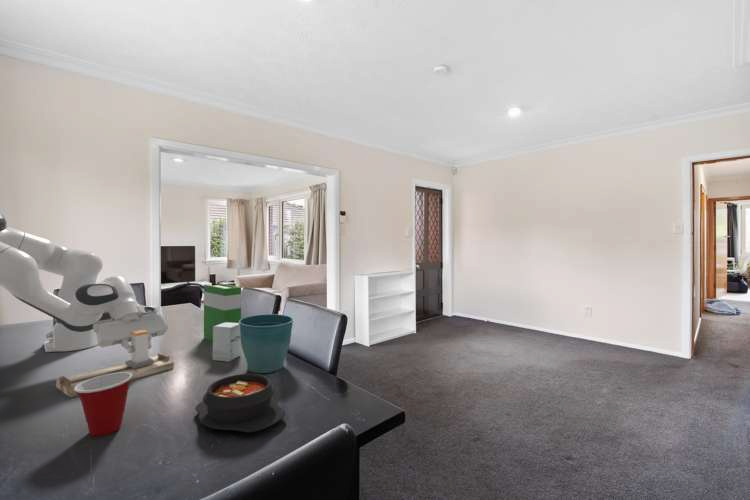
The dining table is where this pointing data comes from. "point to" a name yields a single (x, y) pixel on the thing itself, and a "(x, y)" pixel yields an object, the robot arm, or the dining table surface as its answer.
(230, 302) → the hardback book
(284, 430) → the dining table surface
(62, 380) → the fader console
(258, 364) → the flower pot
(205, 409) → the casserole
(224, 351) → the supplement box
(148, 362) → the fader handle
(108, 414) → the plastic cup
